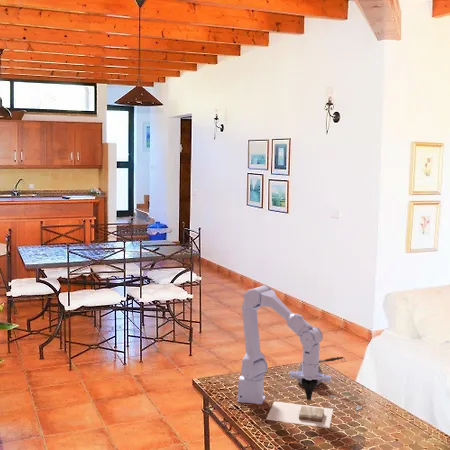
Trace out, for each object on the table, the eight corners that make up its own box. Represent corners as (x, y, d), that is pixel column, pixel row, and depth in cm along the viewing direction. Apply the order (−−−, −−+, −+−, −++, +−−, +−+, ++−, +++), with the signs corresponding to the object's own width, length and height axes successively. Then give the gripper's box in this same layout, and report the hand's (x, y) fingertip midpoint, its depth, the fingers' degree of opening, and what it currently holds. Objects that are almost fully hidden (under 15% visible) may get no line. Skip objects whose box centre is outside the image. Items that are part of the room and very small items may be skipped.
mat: (266, 420, 208) (266, 419, 208) (274, 402, 224) (274, 401, 224) (329, 429, 203) (329, 427, 203) (333, 410, 218) (333, 408, 218)
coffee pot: (289, 383, 243) (290, 348, 241) (305, 376, 251) (306, 341, 250) (334, 398, 229) (336, 361, 227) (350, 390, 237) (351, 353, 235)
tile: (299, 413, 209) (321, 416, 207) (301, 405, 215) (323, 408, 213) (298, 419, 209) (321, 422, 207) (301, 411, 216) (323, 414, 214)
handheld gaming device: (331, 394, 232) (363, 406, 221) (331, 396, 232) (363, 408, 221) (316, 400, 226) (348, 413, 215) (316, 401, 226) (348, 415, 215)
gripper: (288, 363, 207) (287, 400, 209) (330, 368, 203) (328, 406, 205) (291, 357, 214) (290, 393, 215) (332, 361, 210) (330, 398, 212)
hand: (309, 399), depth 211 cm, fingers closed
